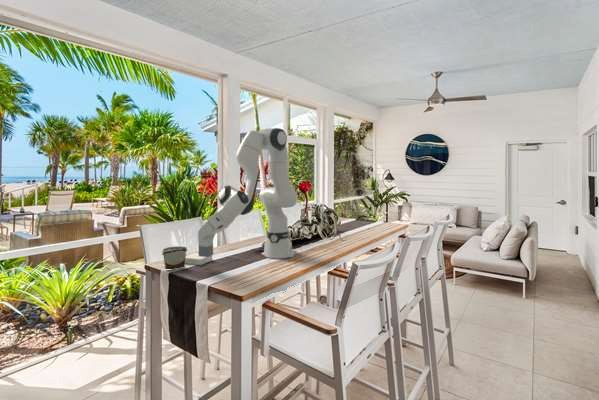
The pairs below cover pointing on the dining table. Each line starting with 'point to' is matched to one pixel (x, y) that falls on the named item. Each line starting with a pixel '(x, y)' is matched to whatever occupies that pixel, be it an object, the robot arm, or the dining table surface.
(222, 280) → the dining table surface
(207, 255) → the block
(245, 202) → the robot arm
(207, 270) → the dining table surface
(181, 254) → the food container
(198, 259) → the stand
